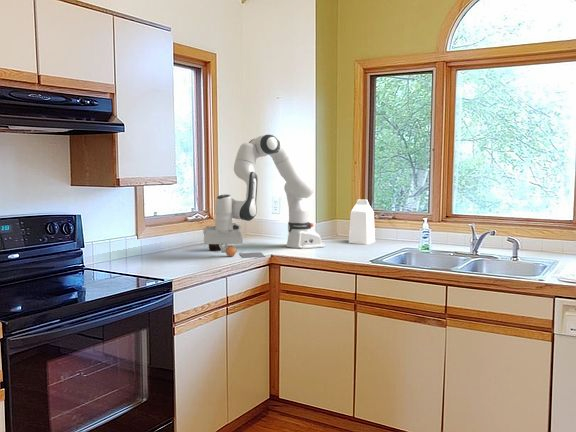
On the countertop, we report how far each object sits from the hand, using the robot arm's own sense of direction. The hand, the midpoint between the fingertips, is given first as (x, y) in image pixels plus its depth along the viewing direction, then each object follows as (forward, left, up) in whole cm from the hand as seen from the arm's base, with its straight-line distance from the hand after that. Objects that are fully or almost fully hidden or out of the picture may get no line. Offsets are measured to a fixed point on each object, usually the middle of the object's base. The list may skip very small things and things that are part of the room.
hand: (223, 252), depth 285 cm
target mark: (-15, 0, -2) cm, 15 cm away
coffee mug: (+1, -20, -2) cm, 20 cm away
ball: (-4, 0, +1) cm, 4 cm away
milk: (-87, -27, -2) cm, 91 cm away
